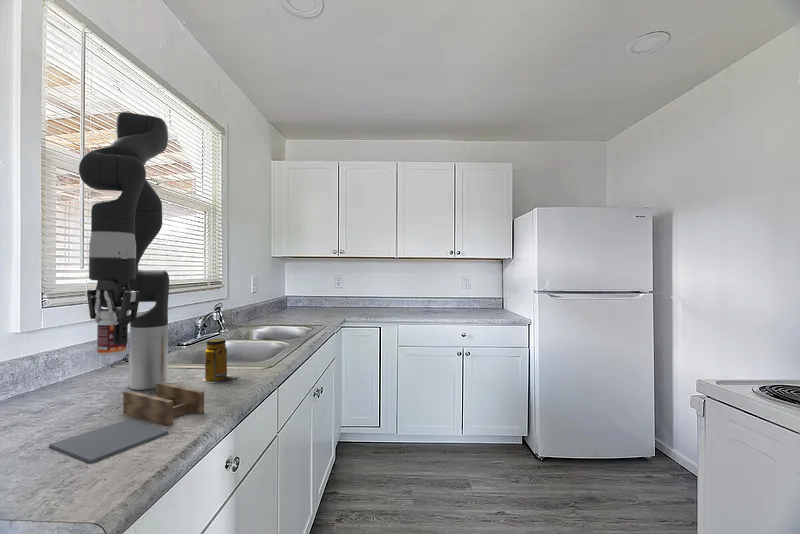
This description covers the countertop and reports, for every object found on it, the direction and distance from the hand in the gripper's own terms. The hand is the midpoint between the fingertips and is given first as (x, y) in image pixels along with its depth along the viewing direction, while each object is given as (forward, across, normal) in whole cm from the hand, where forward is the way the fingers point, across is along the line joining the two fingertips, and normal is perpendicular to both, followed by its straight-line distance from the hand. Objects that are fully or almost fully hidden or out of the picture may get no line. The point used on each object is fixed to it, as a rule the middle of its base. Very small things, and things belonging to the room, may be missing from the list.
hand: (112, 342), depth 79 cm
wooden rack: (+19, -5, +14) cm, 24 cm away
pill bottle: (+2, 0, 0) cm, 2 cm away
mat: (+19, 0, 0) cm, 19 cm away
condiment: (+20, -18, +40) cm, 48 cm away
